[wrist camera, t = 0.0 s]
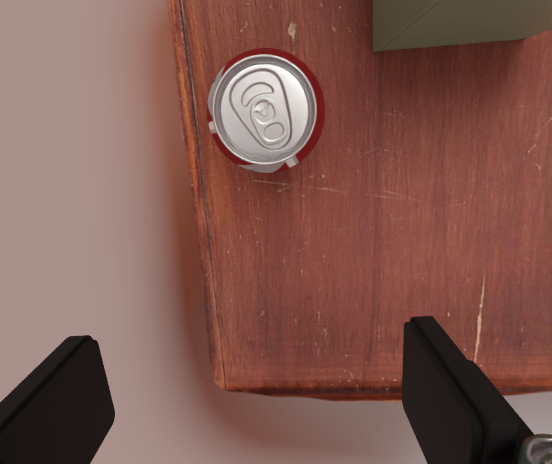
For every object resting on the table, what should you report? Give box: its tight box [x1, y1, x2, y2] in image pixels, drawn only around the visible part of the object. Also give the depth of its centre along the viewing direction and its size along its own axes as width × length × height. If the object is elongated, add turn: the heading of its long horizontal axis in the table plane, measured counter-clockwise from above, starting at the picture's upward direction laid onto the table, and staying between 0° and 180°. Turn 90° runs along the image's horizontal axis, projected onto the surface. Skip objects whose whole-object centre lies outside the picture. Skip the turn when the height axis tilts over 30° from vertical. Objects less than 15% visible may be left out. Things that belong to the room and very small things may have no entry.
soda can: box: [207, 48, 325, 173], centre depth 24 cm, size 7×7×12 cm
